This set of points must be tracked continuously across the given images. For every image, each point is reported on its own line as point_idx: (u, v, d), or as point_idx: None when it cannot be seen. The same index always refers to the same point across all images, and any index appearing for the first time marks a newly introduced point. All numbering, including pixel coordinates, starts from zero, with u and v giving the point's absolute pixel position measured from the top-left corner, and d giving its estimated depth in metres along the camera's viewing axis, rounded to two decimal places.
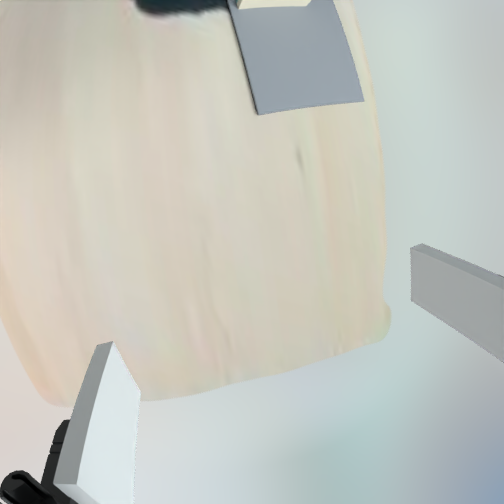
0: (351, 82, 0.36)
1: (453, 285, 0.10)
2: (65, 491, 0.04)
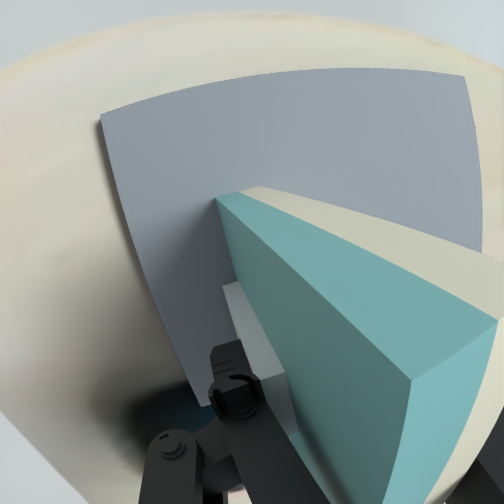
0: (444, 94, 0.14)
1: None
2: (264, 389, 0.07)
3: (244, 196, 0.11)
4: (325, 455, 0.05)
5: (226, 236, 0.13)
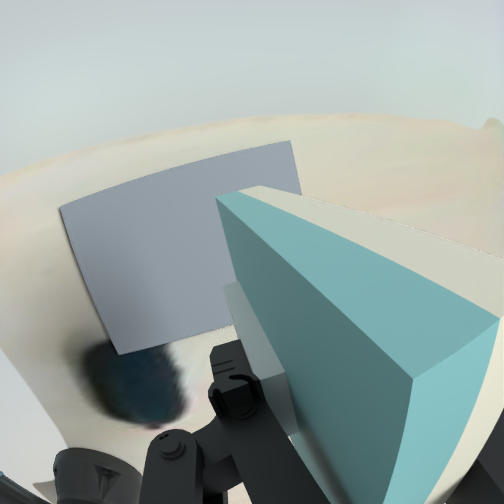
0: (263, 162, 0.26)
1: None
2: (264, 389, 0.07)
3: (244, 195, 0.11)
4: (325, 455, 0.05)
5: (226, 235, 0.13)
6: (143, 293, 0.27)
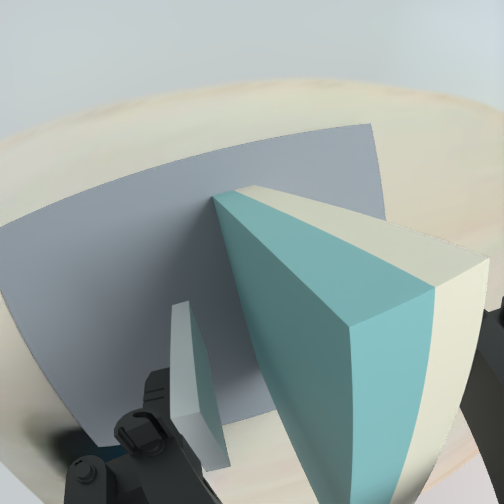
0: (329, 157, 0.14)
1: None
2: (180, 426, 0.06)
3: (239, 194, 0.12)
4: (309, 430, 0.06)
5: (222, 232, 0.13)
6: (123, 378, 0.15)
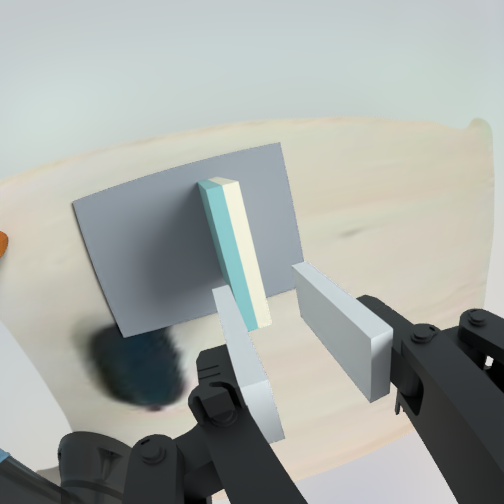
0: (255, 161, 0.30)
1: (319, 307, 0.11)
2: (247, 396, 0.07)
3: (207, 180, 0.27)
4: (218, 245, 0.21)
5: None
6: (147, 280, 0.30)
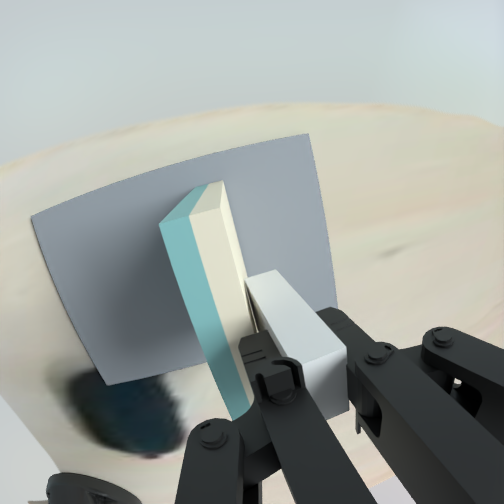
0: (276, 159, 0.21)
1: None
2: None
3: (205, 186, 0.19)
4: None
5: None
6: (131, 319, 0.22)
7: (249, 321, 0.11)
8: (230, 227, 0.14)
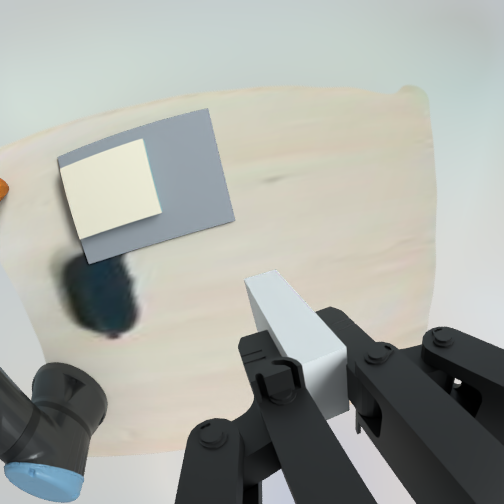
0: (188, 123, 0.37)
1: None
2: None
3: None
4: None
5: None
6: None
7: (67, 197, 0.34)
8: (88, 169, 0.34)
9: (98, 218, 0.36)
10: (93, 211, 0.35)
